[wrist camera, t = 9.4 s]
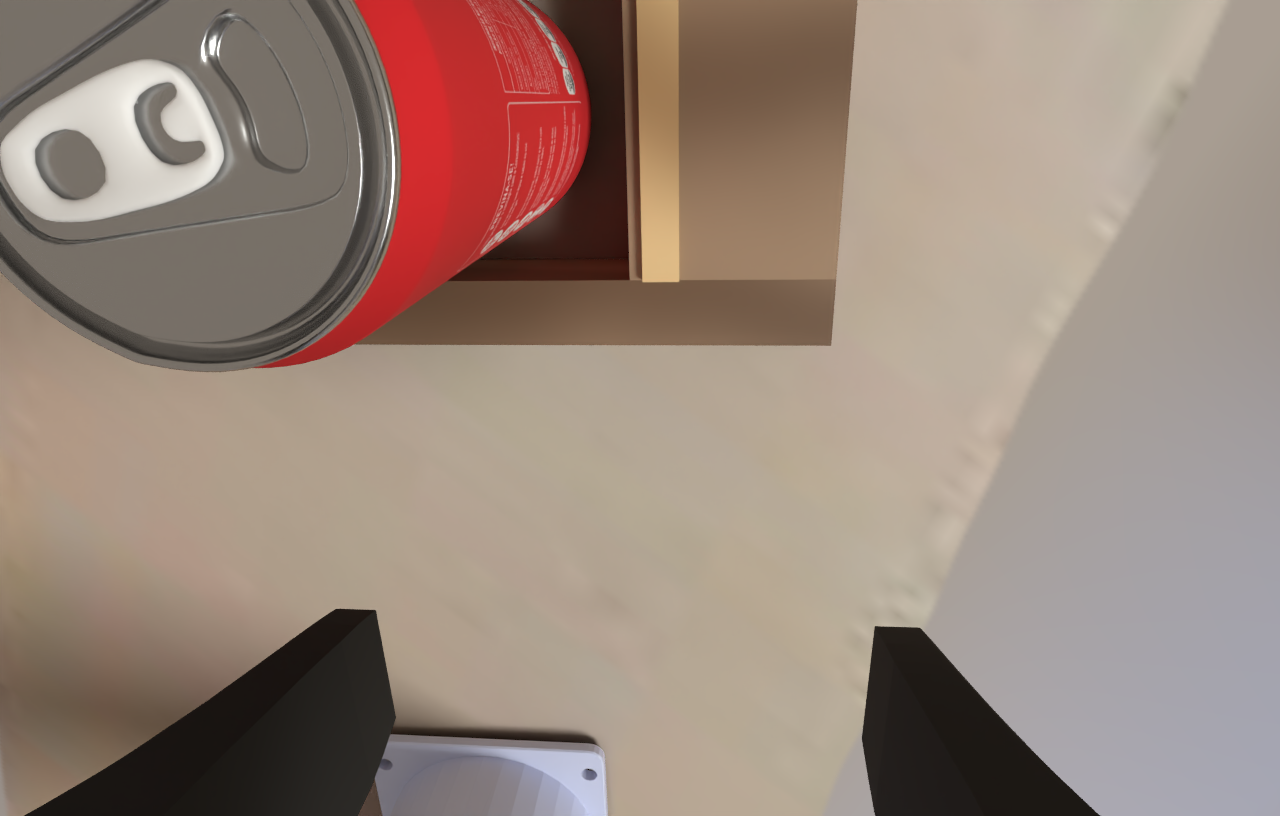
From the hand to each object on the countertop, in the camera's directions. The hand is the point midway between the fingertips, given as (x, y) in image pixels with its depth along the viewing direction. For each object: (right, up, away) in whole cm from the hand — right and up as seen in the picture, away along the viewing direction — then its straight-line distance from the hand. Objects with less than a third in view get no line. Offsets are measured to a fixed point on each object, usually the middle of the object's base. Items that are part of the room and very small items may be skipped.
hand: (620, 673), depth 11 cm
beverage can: (-3, +11, +7) cm, 14 cm away
